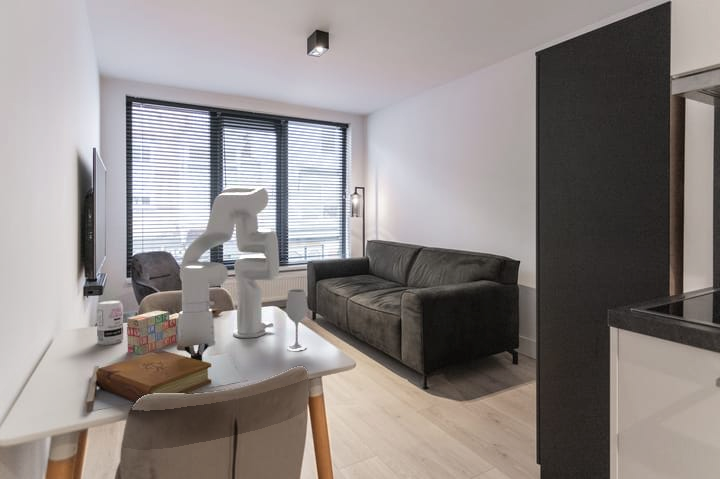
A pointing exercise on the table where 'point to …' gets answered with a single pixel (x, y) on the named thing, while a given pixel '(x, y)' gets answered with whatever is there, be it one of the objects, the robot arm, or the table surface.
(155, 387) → the diary
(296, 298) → the wineglass
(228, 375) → the display board
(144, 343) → the stack of blocks
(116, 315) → the supplement can
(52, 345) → the table surface
